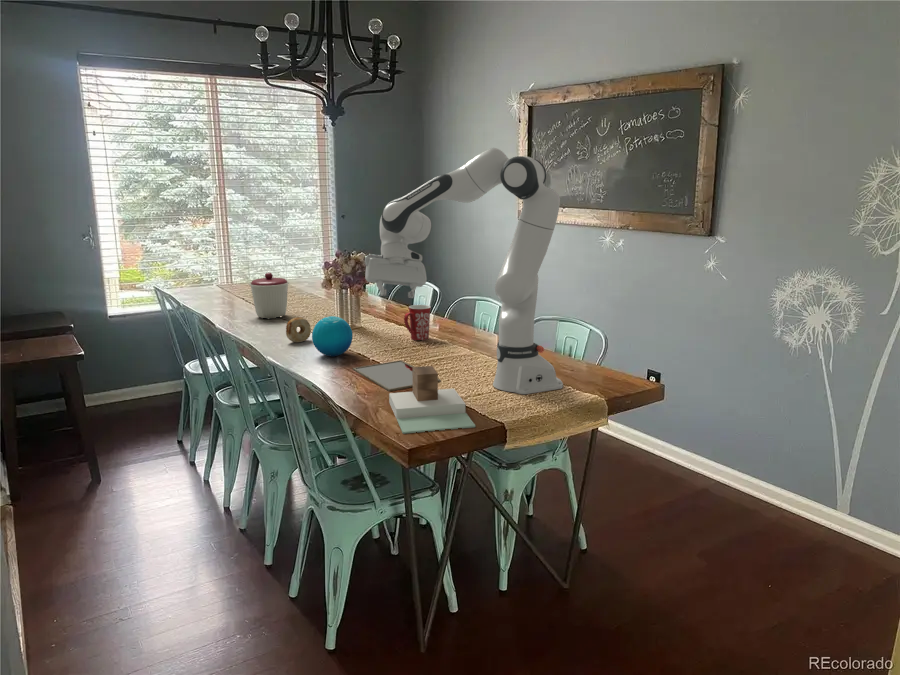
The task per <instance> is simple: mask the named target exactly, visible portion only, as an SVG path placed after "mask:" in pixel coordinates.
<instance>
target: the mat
mask: <svg viewBox="0 0 900 675" xmlns="http://www.w3.org/2000/svg"><path fill="white" fill-rule="evenodd" d="M396 421H397V424H398V426H399V427H400V431H401V433H402V434H405V435H406V434H414V433H416V432H417V433H426V432H425V431H428V432H436V431H435V430H439V431H446V430H445V429H451V430H459V429H458V428H462V429H471V428H476V424H475V423H474V421H473V420H472V418H470V416H469V415H468V413H467V412H465V413H460V414H448V415H436V416H424V417H412V418H400V419H396Z"/></svg>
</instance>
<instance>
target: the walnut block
mask: <svg viewBox="0 0 900 675" xmlns="http://www.w3.org/2000/svg"><path fill="white" fill-rule="evenodd" d="M412 376H413V387H412V392H413V394H414V396H415V398H416V399H417V401H428V400H438V390H439V382H438V379H439V377H438V376H439V374H438V371H437V370H436V369H435V368H434V366H433V365H425V366H414V367H412Z"/></svg>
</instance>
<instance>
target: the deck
mask: <svg viewBox="0 0 900 675" xmlns="http://www.w3.org/2000/svg"><path fill="white" fill-rule="evenodd" d="M388 398H389V400H388V403H389V405H390V407H391V410H392V411H393V414H394V417H395V419H396V420H397V419H400V418H412V417H424V416H436V415H448V414H460V413H466V402H465V401H464V400H463V398H462V396H460V395H459V393H458V392H457V390H456V389H455V388H445V389H443V388H442V389H438V400H428V401H417V399H416V398H415V396H414V394H413V391H405V392H404V391H403V392H390V393H388Z"/></svg>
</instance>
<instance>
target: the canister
mask: <svg viewBox="0 0 900 675" xmlns="http://www.w3.org/2000/svg"><path fill="white" fill-rule="evenodd" d="M288 284H290V281H289V280H287V279H286V278H282V277H274V276H273V273H271V272H266V273H265V274H264V277H262V278H255V279H253V280H252V281H251V282H248V285H249V286H250V289H251V294H252V300H253V304H254V305H253V306H254V310H255V314H256V316H257V317H258V318H259V317H262V318H261V319H263V318H276V317H280V316H283V315H284V316H285V315H286V314H287V305H288V292H289V291H288V290H289V289H288V288H289V285H288ZM284 316H283V317H284ZM280 318H281V317H280ZM276 319H277V318H276Z"/></svg>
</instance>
